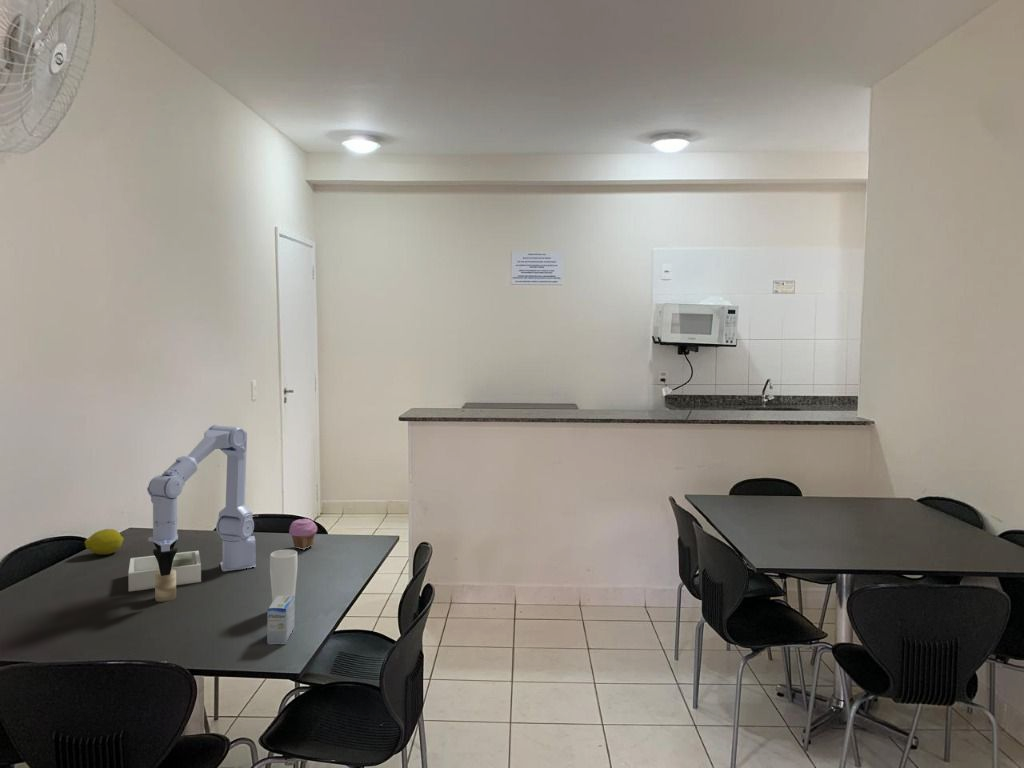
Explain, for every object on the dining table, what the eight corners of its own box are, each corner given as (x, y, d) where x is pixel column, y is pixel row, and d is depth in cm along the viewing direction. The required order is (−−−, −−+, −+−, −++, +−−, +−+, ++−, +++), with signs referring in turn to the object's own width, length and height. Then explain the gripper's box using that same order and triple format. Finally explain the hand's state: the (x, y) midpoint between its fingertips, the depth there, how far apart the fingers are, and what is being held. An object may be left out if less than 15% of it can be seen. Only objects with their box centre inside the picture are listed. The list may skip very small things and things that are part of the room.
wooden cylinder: (176, 593, 181) (175, 568, 181) (176, 599, 177) (176, 574, 176) (155, 596, 179) (155, 570, 178) (155, 602, 174) (154, 576, 174)
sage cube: (191, 569, 197) (191, 553, 197) (192, 575, 193) (192, 558, 193) (172, 572, 195) (172, 555, 195) (173, 577, 190) (173, 560, 190)
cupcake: (305, 553, 217) (305, 523, 216) (283, 550, 220) (283, 520, 219) (322, 546, 225) (322, 517, 224) (301, 543, 228) (301, 514, 228)
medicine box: (276, 630, 160) (276, 595, 160) (295, 630, 160) (295, 595, 160) (266, 645, 152) (266, 608, 152) (286, 644, 153) (286, 608, 152)
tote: (198, 566, 202) (198, 550, 202) (201, 581, 190) (200, 564, 190) (130, 575, 194) (130, 558, 193) (128, 591, 181) (128, 573, 181)
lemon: (122, 548, 218) (122, 524, 217) (126, 554, 211) (126, 530, 211) (83, 554, 211) (83, 529, 210) (86, 561, 205) (85, 535, 204)
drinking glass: (271, 617, 167) (271, 558, 166) (268, 607, 173) (268, 551, 172) (299, 612, 170) (299, 555, 169) (294, 603, 176) (295, 547, 175)
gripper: (148, 515, 181) (148, 564, 182) (147, 529, 168) (147, 581, 169) (177, 512, 184) (177, 560, 185) (178, 526, 171) (178, 577, 172)
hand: (165, 570), depth 177 cm, fingers open, 7 cm apart
